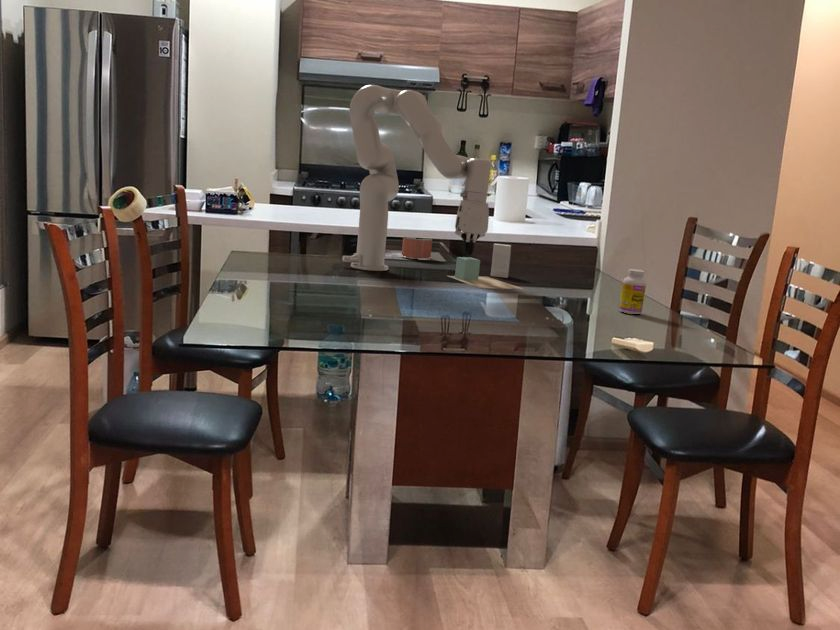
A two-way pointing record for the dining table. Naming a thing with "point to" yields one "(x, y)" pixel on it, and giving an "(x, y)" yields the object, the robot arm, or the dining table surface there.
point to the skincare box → (500, 260)
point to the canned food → (416, 247)
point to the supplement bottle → (633, 292)
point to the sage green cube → (467, 268)
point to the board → (488, 283)
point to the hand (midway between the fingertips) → (467, 253)
